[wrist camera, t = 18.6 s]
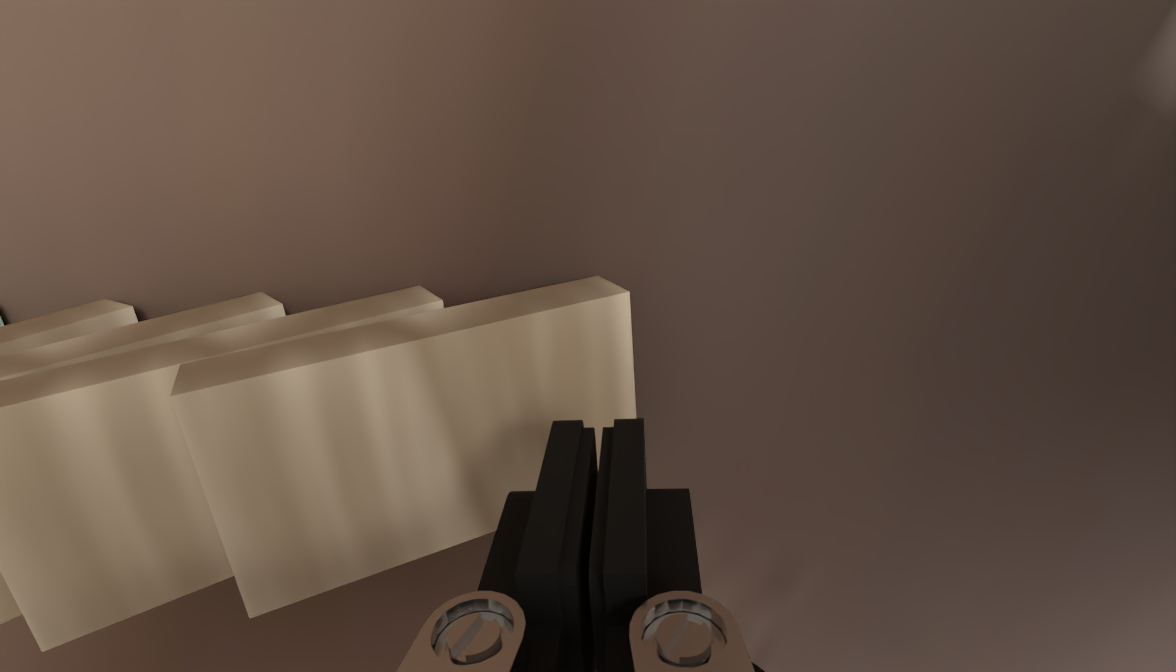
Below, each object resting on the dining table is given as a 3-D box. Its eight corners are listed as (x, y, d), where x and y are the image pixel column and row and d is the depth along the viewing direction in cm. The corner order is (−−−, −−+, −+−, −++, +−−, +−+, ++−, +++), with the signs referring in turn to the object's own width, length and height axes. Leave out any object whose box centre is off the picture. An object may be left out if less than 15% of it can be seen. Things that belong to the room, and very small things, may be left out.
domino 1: (282, 304, 15) (-311, 459, 10) (328, 478, 17) (-151, 691, 12) (261, 291, 17) (-282, 426, 11) (307, 456, 18) (-140, 642, 13)
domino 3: (629, 291, 14) (170, 396, 11) (639, 479, 16) (249, 618, 13) (597, 275, 16) (179, 364, 12) (610, 450, 18) (250, 569, 14)
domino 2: (442, 299, 15) (-76, 426, 11) (472, 481, 17) (42, 652, 12) (419, 285, 16) (-52, 392, 12) (449, 455, 18) (51, 602, 14)
